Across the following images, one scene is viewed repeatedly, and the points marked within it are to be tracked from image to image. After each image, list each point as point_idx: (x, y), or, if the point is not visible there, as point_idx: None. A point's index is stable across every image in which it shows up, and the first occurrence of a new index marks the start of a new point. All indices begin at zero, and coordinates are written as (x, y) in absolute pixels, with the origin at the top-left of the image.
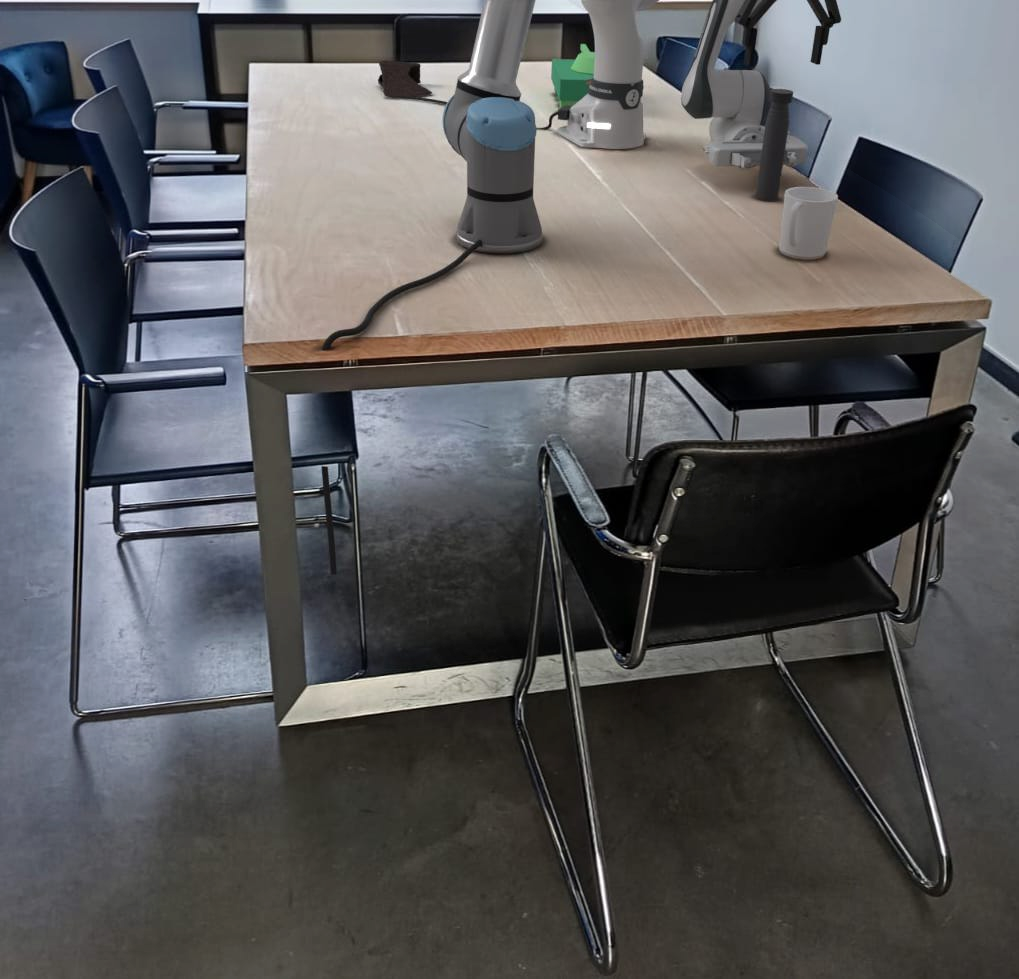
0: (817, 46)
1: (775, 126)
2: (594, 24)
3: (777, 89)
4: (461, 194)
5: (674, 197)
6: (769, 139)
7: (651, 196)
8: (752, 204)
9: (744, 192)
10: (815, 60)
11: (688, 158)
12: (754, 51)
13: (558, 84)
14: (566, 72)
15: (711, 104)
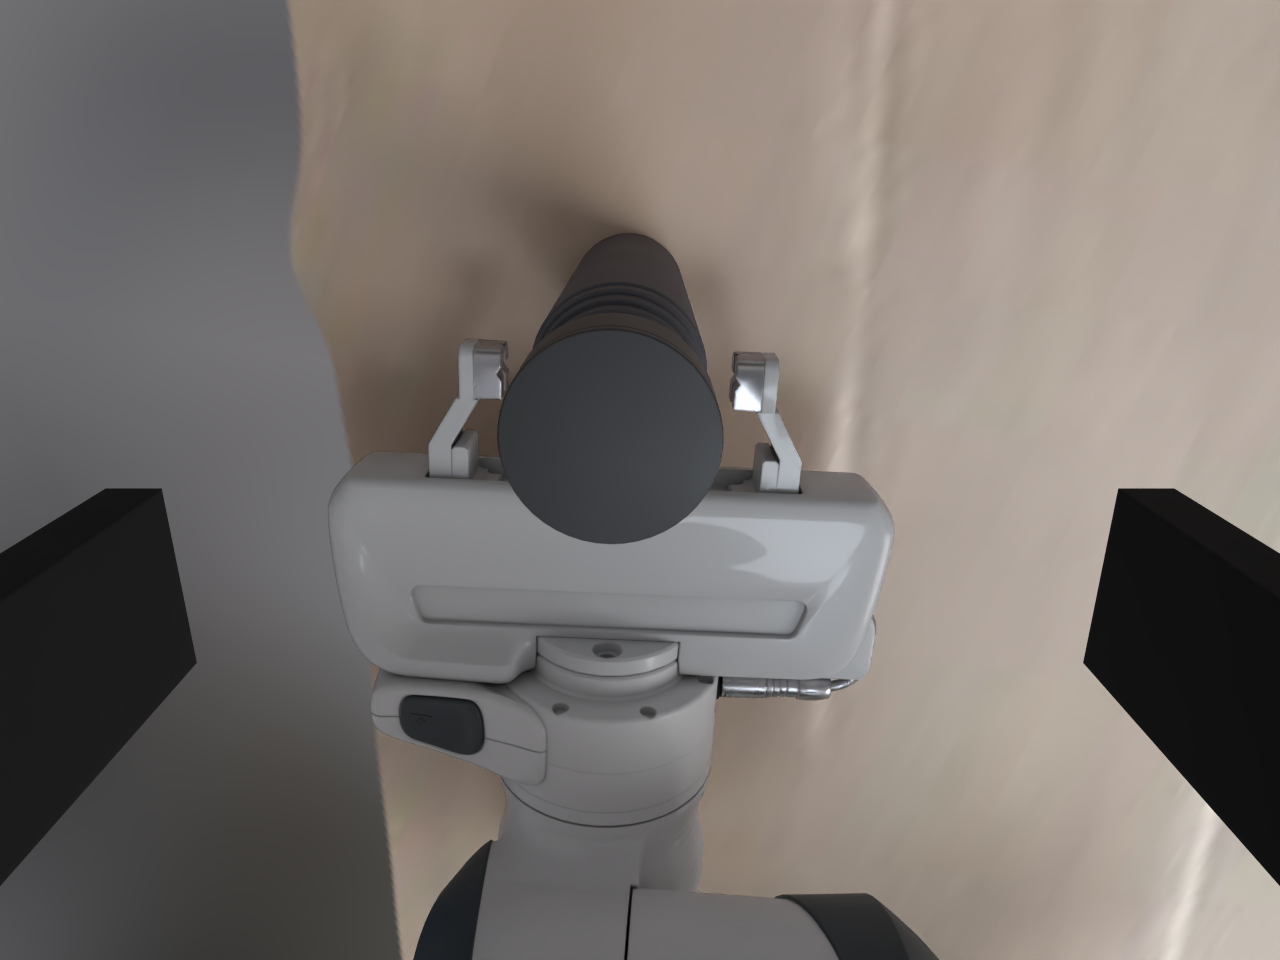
0: (20, 660)
1: (664, 294)
2: None
3: (624, 517)
4: None
5: (1067, 357)
6: (684, 300)
7: (1166, 386)
8: (741, 194)
9: None
10: (146, 555)
11: (740, 877)
12: (1244, 577)
13: None
14: None
15: (827, 918)
